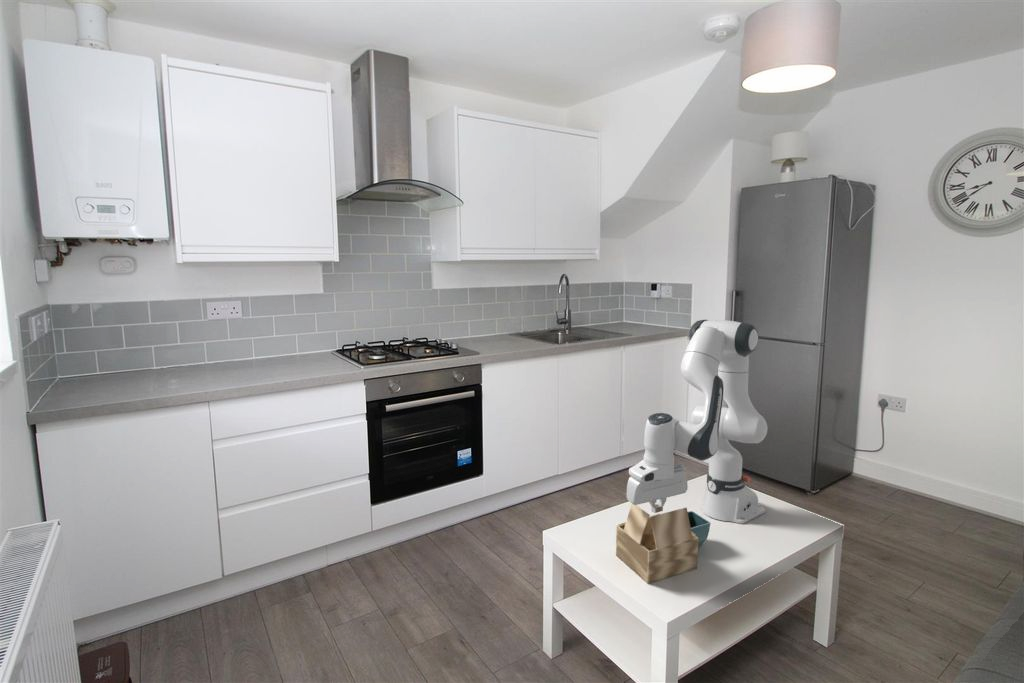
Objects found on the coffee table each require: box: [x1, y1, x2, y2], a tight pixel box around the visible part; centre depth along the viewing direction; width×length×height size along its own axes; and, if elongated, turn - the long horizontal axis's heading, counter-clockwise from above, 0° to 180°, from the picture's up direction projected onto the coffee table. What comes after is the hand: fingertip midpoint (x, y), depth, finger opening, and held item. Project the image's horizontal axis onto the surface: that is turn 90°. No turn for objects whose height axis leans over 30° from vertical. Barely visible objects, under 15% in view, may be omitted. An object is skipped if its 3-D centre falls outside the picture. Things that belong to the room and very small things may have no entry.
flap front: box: [623, 503, 651, 544], centre depth 158 cm, size 9×8×1 cm
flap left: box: [650, 507, 693, 549], centre depth 155 cm, size 13×9×1 cm
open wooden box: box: [615, 513, 699, 585], centre depth 163 cm, size 19×17×10 cm
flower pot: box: [687, 510, 711, 548], centre depth 172 cm, size 9×9×9 cm
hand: (657, 511), depth 161 cm, fingers closed
